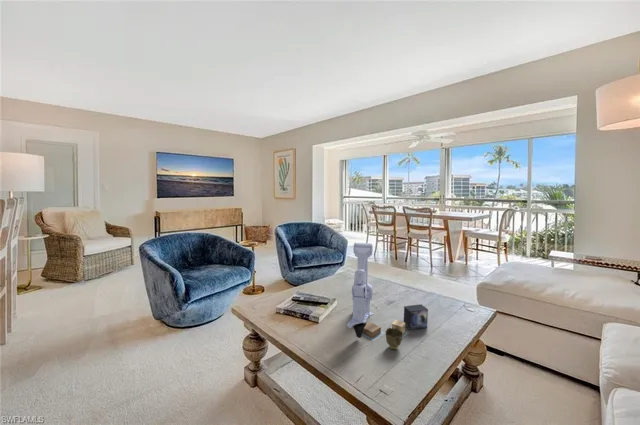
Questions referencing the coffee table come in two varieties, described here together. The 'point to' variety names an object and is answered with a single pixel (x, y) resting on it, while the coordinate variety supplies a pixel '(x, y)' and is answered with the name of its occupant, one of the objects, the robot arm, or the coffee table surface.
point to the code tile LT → (375, 336)
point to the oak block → (399, 325)
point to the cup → (393, 338)
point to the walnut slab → (371, 330)
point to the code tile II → (405, 334)
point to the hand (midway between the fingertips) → (358, 336)
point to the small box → (415, 317)
